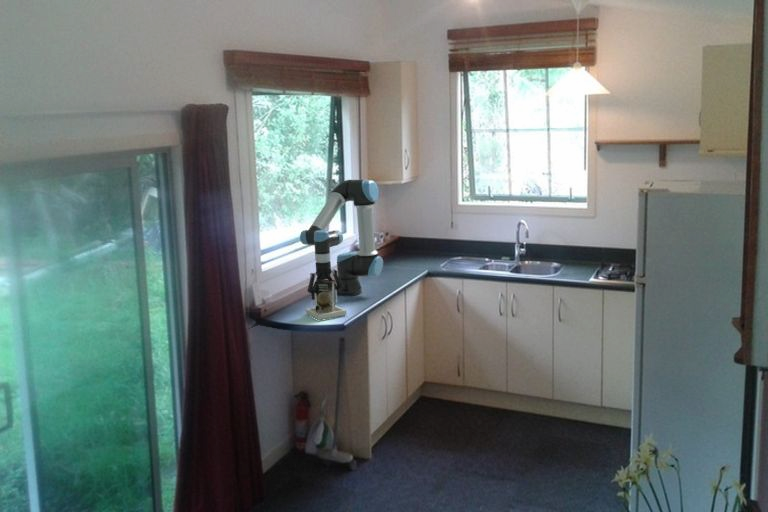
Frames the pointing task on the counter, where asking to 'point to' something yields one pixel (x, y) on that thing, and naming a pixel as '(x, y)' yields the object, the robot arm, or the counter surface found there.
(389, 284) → the counter surface
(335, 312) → the tray
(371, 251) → the robot arm
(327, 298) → the coffee box
